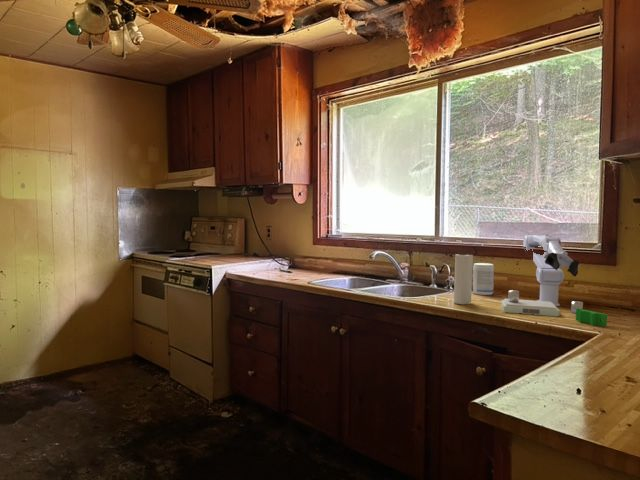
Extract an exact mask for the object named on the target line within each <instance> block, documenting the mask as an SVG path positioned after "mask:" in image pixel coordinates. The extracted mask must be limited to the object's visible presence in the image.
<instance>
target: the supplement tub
mask: <svg viewBox="0 0 640 480" xmlns="http://www.w3.org/2000/svg"><path fill="white" fill-rule="evenodd" d="M494 275H495V267H494V264H493V263H486V262H477V263H474V262H473V267H472V293H473V294H475V295H480V296H492V295H494V283H495V281H494V280H495V279H494V278H495V277H494Z"/></svg>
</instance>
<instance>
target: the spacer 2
mask: <svg viewBox="0 0 640 480" xmlns="http://www.w3.org/2000/svg"><path fill="white" fill-rule="evenodd" d="M583 306H584V302H583V301H577V300H571V307H570V313H571V314H573V315H574V314H575V315H576V309H578V308H579V309H583ZM583 310H584V309H583Z"/></svg>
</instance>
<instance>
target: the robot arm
mask: <svg viewBox="0 0 640 480" xmlns="http://www.w3.org/2000/svg"><path fill="white" fill-rule="evenodd" d="M522 241H523V245H522V246H523V248H524V247H526V250H527V251H528V250H530V249H532V251H533V248H535V247H538V246H541V247H543V250H544V251H546V252H544V254H543V255H540V254H536V253H534V252H533V260H532V261H533V263H534V264H535V266H536V267H537V268H536V271H535V276H536V280H537V282H538V283H539V284H540V285H539V299H537V300H536V301H547V302H552V303H553V304H554V305H555V306H556V307H561V305H560V303H559V286H560V285H561V284H562V283H563V281H564V277H565V275H564V274H565V273H564V270H562V268H568V269H567V270H566V272H568V273H570V274H571V275H572V276H573V277H577V275H578V274H579V271H578V269H579V267H580V261H579V260H576V259H572V258H571V257H570V256H569V255H568V254H569V252H568V251H565V250H564V249H563V247H562V242H561V238H560V237H559V236H558V237H553V236H552V235H550V234H548V233H547V234H546V233H545V234H544V235H542V234H541V235H539V234H527V235H524V237H523V240H522ZM526 250H525V251H526Z"/></svg>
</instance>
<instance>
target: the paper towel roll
mask: <svg viewBox="0 0 640 480" xmlns="http://www.w3.org/2000/svg"><path fill="white" fill-rule="evenodd" d="M454 259H455V260H454V285H453V288H454V289H453V303H454V304H457V305H469V304H470V303H472V293H473V266H474V262H473V261H474V254H465V253H459V254H458V253H457V254H456V253H455V257H454Z"/></svg>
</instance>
